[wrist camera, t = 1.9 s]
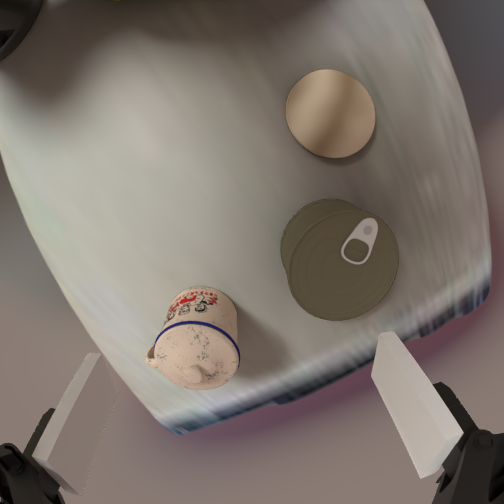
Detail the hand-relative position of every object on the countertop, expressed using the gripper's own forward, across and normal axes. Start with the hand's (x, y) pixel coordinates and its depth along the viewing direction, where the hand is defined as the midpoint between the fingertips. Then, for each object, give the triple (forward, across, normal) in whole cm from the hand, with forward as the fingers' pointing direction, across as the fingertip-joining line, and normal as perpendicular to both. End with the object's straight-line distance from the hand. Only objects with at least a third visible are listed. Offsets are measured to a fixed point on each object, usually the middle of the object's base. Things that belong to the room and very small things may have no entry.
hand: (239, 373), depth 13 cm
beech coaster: (+23, +11, +13) cm, 28 cm away
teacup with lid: (+23, -7, -11) cm, 26 cm away
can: (+23, +10, -3) cm, 26 cm away
